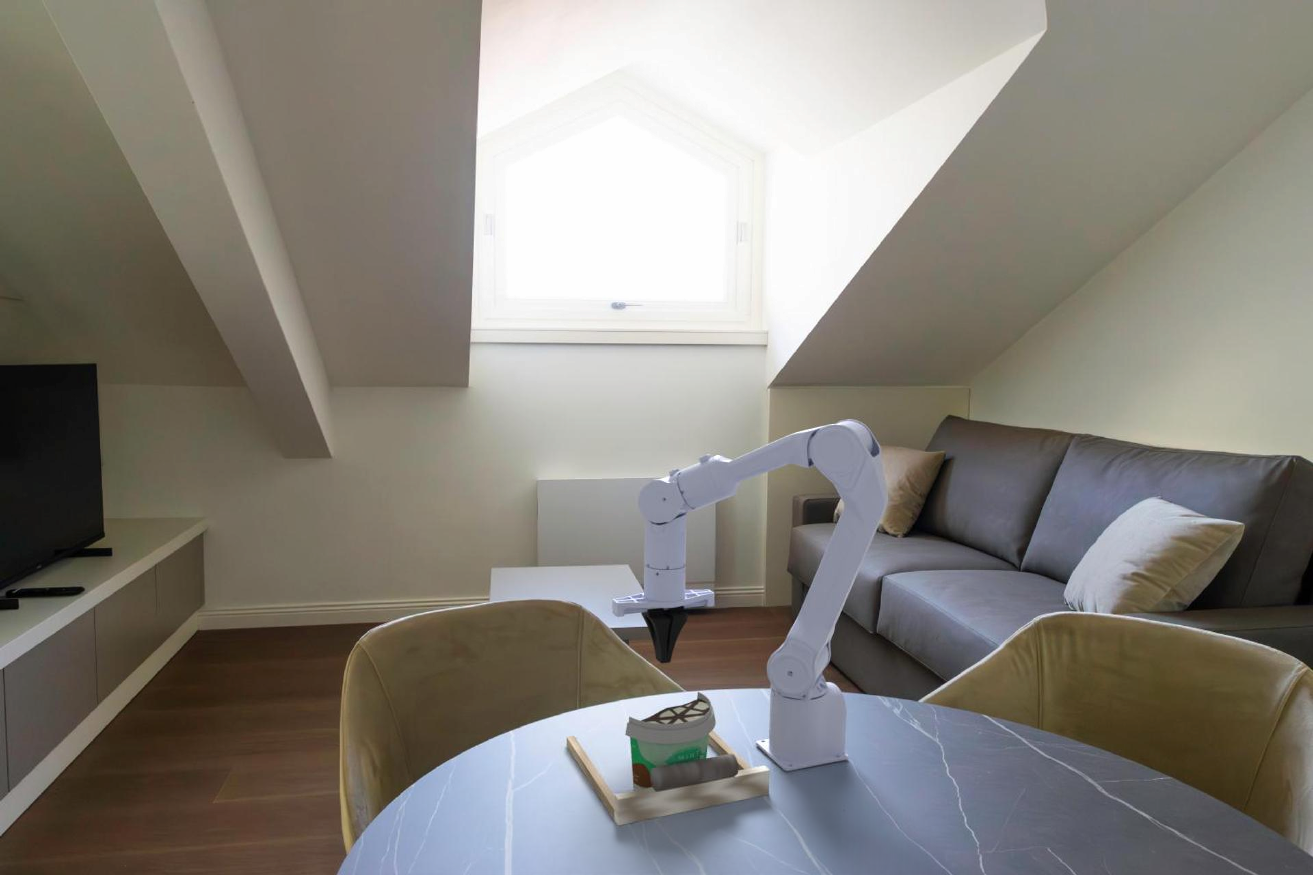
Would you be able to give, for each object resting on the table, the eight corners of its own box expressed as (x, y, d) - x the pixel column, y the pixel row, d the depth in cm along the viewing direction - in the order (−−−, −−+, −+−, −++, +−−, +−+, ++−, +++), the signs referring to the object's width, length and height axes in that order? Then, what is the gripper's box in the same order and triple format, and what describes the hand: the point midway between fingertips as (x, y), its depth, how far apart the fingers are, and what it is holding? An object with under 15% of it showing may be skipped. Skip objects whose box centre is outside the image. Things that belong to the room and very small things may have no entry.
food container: (659, 822, 94) (661, 736, 93) (624, 800, 98) (625, 717, 97) (735, 786, 102) (737, 706, 101) (699, 766, 107) (701, 690, 106)
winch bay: (697, 723, 119) (697, 686, 118) (771, 796, 100) (772, 752, 99) (566, 745, 112) (566, 706, 111) (619, 828, 93) (620, 781, 92)
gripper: (700, 553, 122) (698, 644, 124) (605, 561, 117) (604, 657, 118) (722, 565, 116) (719, 661, 117) (623, 574, 110) (621, 675, 112)
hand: (663, 660), depth 117 cm, fingers closed
